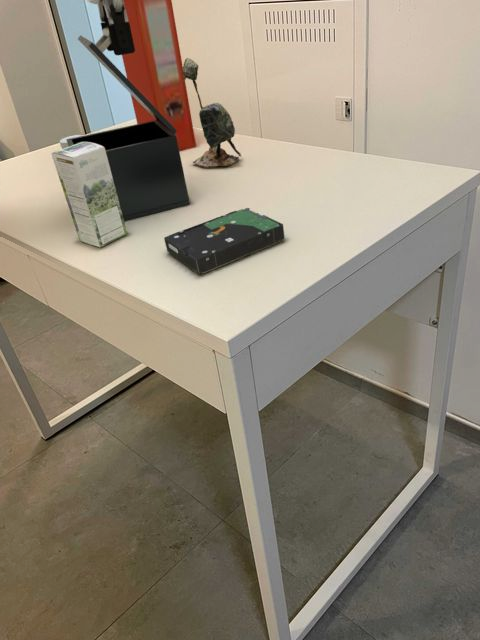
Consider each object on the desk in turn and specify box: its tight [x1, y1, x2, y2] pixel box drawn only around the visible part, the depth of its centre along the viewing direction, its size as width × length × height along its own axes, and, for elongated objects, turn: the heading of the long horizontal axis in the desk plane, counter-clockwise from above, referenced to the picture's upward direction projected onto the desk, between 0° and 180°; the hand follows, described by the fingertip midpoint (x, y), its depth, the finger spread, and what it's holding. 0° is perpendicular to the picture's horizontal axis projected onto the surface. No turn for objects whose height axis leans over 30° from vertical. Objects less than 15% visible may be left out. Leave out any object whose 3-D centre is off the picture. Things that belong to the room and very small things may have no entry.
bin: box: [66, 120, 191, 222], centre depth 97 cm, size 17×14×12 cm
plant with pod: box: [182, 57, 242, 168], centre depth 108 cm, size 8×11×20 cm
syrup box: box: [51, 142, 128, 248], centre depth 85 cm, size 6×6×14 cm
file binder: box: [121, 0, 197, 152], centre depth 121 cm, size 8×17×32 cm, turn 29°
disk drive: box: [163, 207, 285, 275], centre depth 81 cm, size 10×3×15 cm
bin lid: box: [77, 26, 177, 134], centre depth 89 cm, size 17×14×5 cm
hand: (120, 50), depth 87 cm, fingers closed on bin lid, 6 cm apart
